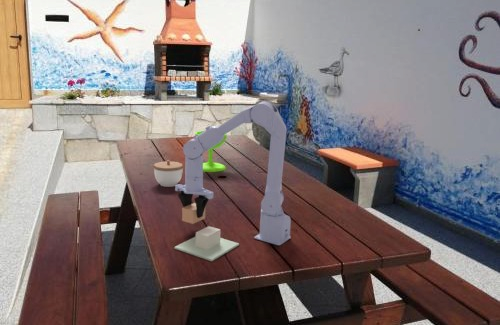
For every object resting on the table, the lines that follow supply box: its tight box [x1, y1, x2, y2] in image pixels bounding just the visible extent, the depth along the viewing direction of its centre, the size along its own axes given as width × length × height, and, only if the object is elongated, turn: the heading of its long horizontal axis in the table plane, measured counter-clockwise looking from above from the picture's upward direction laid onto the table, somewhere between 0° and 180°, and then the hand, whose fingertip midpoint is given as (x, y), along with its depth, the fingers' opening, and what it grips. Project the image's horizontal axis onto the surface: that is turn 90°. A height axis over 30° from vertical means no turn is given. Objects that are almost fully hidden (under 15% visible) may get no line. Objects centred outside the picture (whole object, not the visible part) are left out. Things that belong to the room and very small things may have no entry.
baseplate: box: [174, 236, 240, 262], centre depth 138 cm, size 14×14×1 cm
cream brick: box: [195, 225, 221, 250], centre depth 137 cm, size 4×6×4 cm
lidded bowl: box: [153, 159, 184, 188], centre depth 199 cm, size 13×13×11 cm
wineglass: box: [194, 130, 228, 173], centre depth 230 cm, size 16×16×18 cm
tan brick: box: [181, 202, 206, 225], centre depth 149 cm, size 4×6×4 cm
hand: (193, 215), depth 149 cm, fingers closed on tan brick, 4 cm apart
